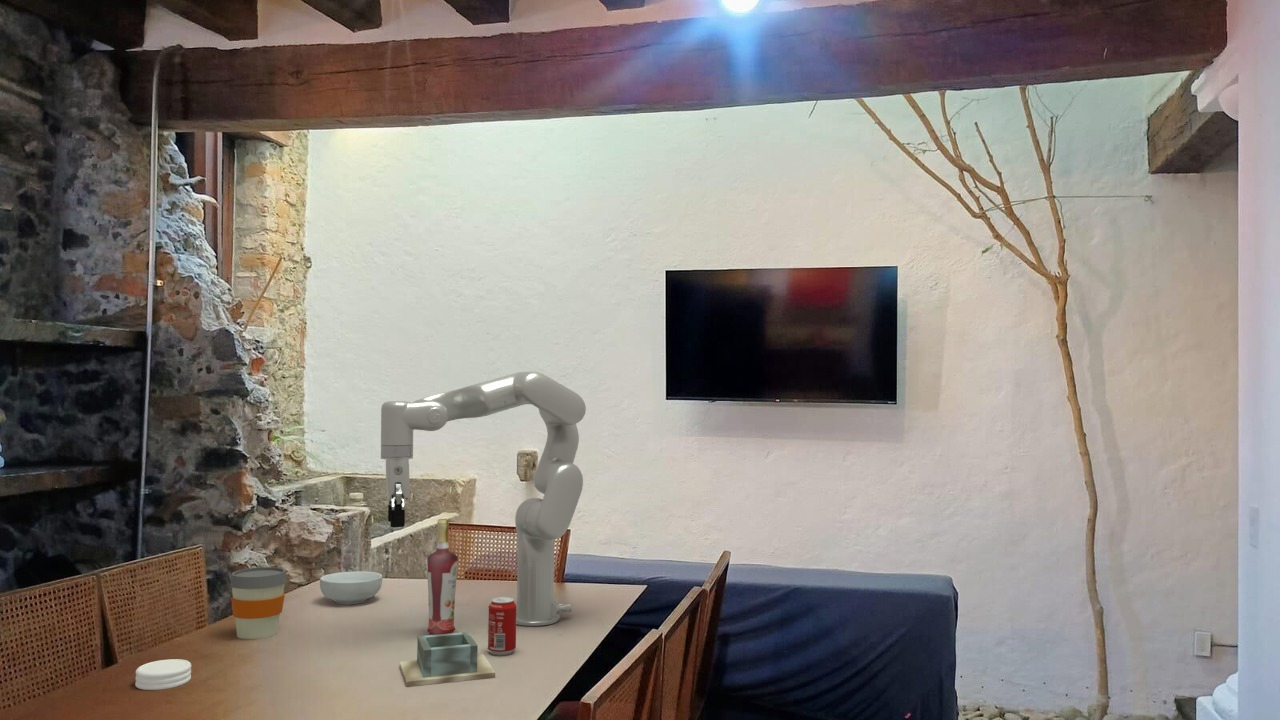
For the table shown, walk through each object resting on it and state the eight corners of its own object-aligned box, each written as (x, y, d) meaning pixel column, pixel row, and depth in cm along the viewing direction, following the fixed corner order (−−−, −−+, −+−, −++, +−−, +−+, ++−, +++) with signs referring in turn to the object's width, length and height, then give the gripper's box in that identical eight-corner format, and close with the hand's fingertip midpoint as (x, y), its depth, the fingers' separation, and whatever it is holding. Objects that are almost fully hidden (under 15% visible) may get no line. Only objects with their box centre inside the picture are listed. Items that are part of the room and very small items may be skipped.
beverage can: (520, 650, 203) (521, 597, 204) (507, 657, 197) (508, 603, 198) (496, 647, 205) (497, 595, 206) (482, 654, 199) (483, 601, 200)
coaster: (131, 694, 172) (132, 675, 172) (138, 678, 181) (138, 661, 181) (189, 687, 176) (189, 670, 176) (192, 673, 185) (193, 656, 185)
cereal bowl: (394, 599, 251) (395, 574, 251) (346, 611, 237) (347, 585, 237) (354, 592, 260) (355, 567, 260) (306, 603, 246) (307, 577, 246)
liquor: (448, 640, 211) (451, 522, 212) (420, 637, 212) (422, 521, 213) (461, 631, 218) (463, 518, 219) (433, 630, 219) (435, 517, 220)
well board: (482, 658, 197) (483, 628, 197) (495, 677, 183) (495, 645, 184) (399, 666, 190) (400, 635, 190) (406, 686, 177) (407, 654, 177)
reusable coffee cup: (294, 634, 214) (295, 572, 215) (242, 644, 205) (243, 579, 206) (271, 624, 223) (272, 564, 223) (220, 634, 214) (222, 571, 214)
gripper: (416, 454, 205) (415, 528, 204) (410, 449, 221) (409, 518, 220) (382, 455, 202) (381, 530, 202) (379, 450, 218) (378, 519, 218)
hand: (396, 523), depth 211 cm, fingers open, 9 cm apart
